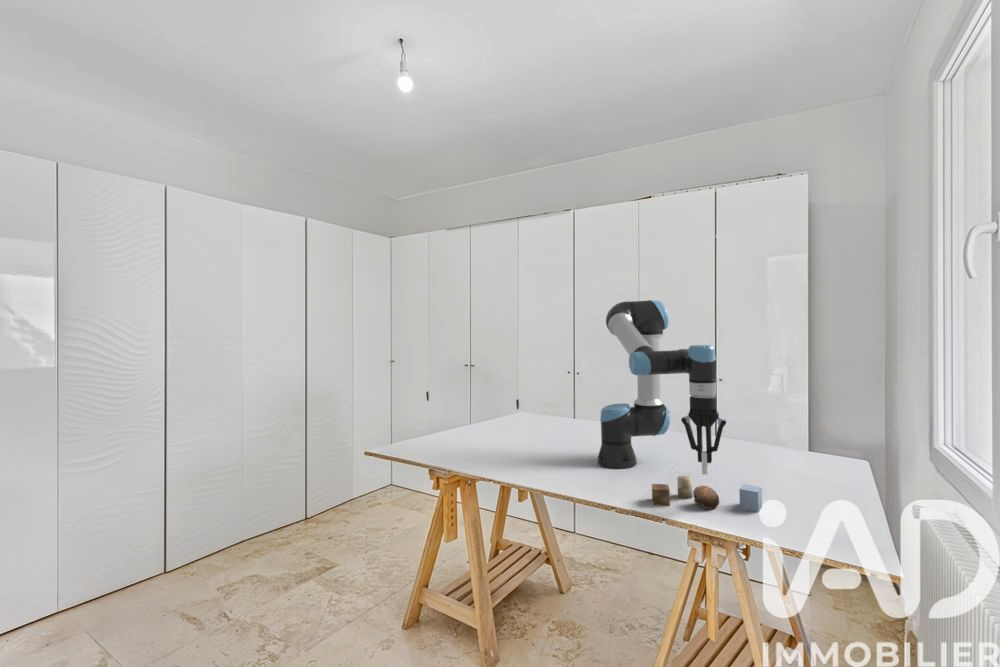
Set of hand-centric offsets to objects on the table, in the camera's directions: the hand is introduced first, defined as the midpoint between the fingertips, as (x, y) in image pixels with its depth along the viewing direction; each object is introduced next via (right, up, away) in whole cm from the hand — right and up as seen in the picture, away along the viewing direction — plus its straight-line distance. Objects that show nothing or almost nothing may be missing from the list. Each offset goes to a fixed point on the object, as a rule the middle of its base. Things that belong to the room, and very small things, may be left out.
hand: (705, 472), depth 147 cm
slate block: (+13, -10, -2) cm, 16 cm away
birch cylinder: (-3, -10, +9) cm, 14 cm away
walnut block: (-12, -11, +5) cm, 17 cm away
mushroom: (0, -11, 0) cm, 11 cm away
